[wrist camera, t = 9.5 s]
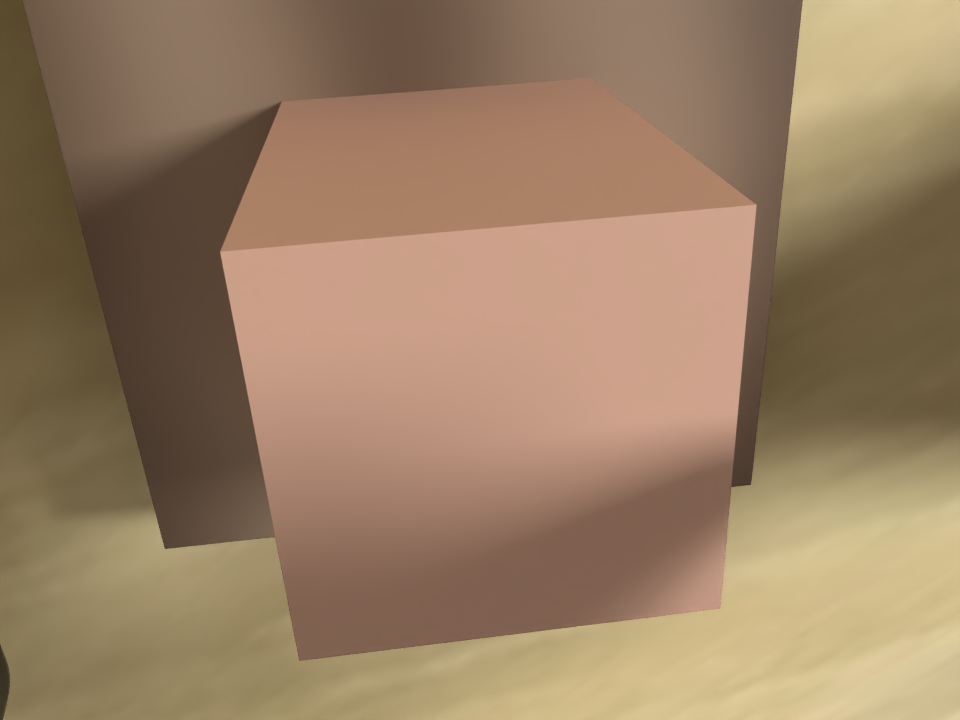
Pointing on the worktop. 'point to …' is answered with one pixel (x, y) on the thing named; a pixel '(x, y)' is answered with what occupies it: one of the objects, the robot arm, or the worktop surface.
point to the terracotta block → (489, 362)
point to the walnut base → (343, 73)
